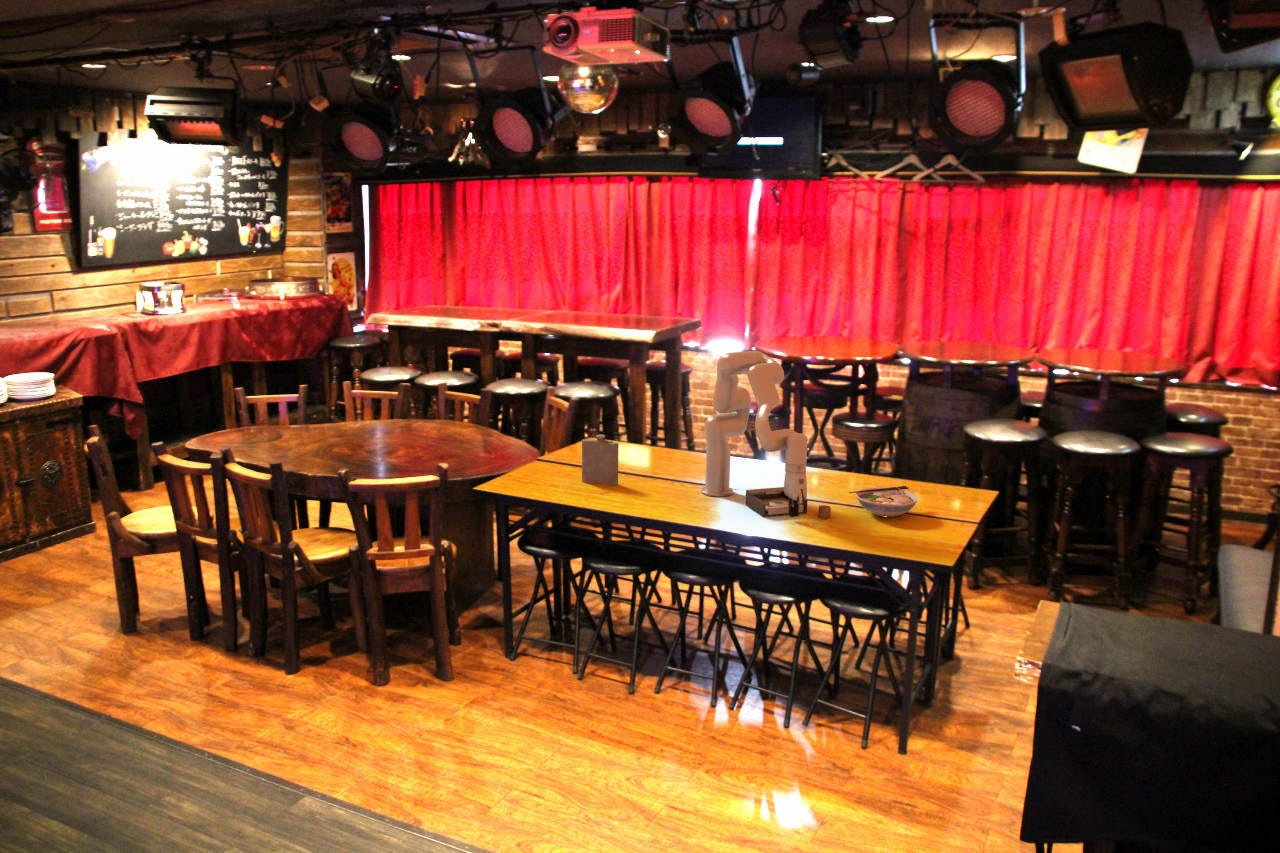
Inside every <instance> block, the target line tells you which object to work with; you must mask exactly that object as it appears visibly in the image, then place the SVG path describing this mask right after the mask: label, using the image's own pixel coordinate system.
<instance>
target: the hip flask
mask: <svg viewBox="0 0 1280 853" xmlns="http://www.w3.org/2000/svg"><path fill="white" fill-rule="evenodd" d="M605 438H606V435H605V434H597V435H596V439H592V438H591V439H588V438H586V439H585V438H584V439H581V482H582V483H585V484H586V483H589V484H597V485H598V484H599V485H606V486H611V487H616V486H619V442H617V441H612V440H609V439H608V440H607V439H605Z"/></svg>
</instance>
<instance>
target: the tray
mask: <svg viewBox="0 0 1280 853" xmlns="http://www.w3.org/2000/svg"><path fill="white" fill-rule="evenodd" d="M759 500H761V501H762V502H764V503H765V511H766V512H768V515H772V514H783V513H789V504H788V506H780V507H769V502H770V501H772V500H782V501H786V502H788V500H787V499H785V498H783V497H780V498H767V499H759ZM803 506H804V505H800V506H799V512H803Z"/></svg>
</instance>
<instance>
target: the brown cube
mask: <svg viewBox="0 0 1280 853" xmlns="http://www.w3.org/2000/svg"><path fill="white" fill-rule="evenodd" d="M831 508H832V507H831V506H829V505H826V504H825V505H824V504H823V505H822V504H820V505H819V506H818V515H817V518H818V519H820V520H829V518H830V519H831V511H832V509H831Z"/></svg>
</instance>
